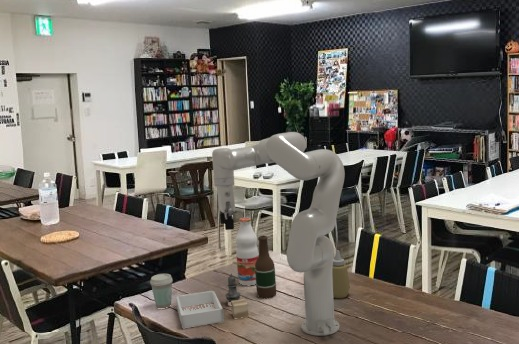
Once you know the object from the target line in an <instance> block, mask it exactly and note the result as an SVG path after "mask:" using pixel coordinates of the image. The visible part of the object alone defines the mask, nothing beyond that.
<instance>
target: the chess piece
mask: <svg viewBox="0 0 519 344" xmlns="http://www.w3.org/2000/svg"><path fill="white" fill-rule="evenodd" d="M227 283H228V284H227V287H228V292H227V293H225V296H224V297H226V301H228V302H231V301H235V300H240V298H241V295H242V294H241V292H239V291H238V290H237V289H238V288H237V286H238V284H237V281H236V276H234V275H233V274H232V273H231V274H230V275H229V276H228V277H227Z"/></svg>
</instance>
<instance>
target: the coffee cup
mask: <svg viewBox="0 0 519 344" xmlns="http://www.w3.org/2000/svg"><path fill="white" fill-rule="evenodd" d="M173 281H174V280H173V277H172V275H171V274H169V273H158V274H156V275H153V276H151V278H150V282H149V284H150V286H151V289H152V294H153V295H152V296H153V300H154V303H155V308H156V307H157V308H166V307H169V306H170V305H171V306H172V296H173V295H172V293H173V289H172V287H173ZM157 308H156V309H157Z"/></svg>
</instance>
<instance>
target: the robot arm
mask: <svg viewBox="0 0 519 344" xmlns="http://www.w3.org/2000/svg"><path fill="white" fill-rule="evenodd" d="M306 147H307V141H306V138H305V137H304V136H303V135H302V133H299V132H297V131H288V132H282V133H277V134H273V135H271V136H270V137H267V138H264V139H261V140H260V141H259V142H258V143H257V144H253V145H249V146H244V147H238V148H226V147H225V148H224V147H223V148H215V149H213V151H212V153H211V157H212V158H211V159H212V170H213V171H212V172H213V184H214V185H213V186H214V188H217V189H216V191H217V204H218V209H219V220H220V221H219V222H220V225H224V228H225V230H226V231H229V230H234V229H235V225H234V224H235V223H234V221H235V219H234V215H233V213H235V212H236V202H235V193H234V187H233V186H235V174H234V171H237V170H242V169H246V168H252V167H256V166H259V165H264V164H267V165H269V164H274V163H275V164H276V165H278V166H279V167H280V168H281V169H282V170H284V171H286V172H287V173H288V174H289V175H290V176H292V177H294V178H295V179H296V180H300V181H309V180H314V179H316V178H319V180H318V182H317V183H316V186H315V188H314V191H313V194H312V200H311V204H310V207H309V208H308V209H305V210H303V211H300V212H298V213H297V214H296V215H295V216H294V217H293V220H292V221H291V225H290V229H289V230H290V231H289V236H288V242H287V248H286V249H287V250H286V261H287V263H288V266H289V267H290V269H291V270H293V271H294V272H295V273H299V274H300V273H303V291H304V292H303V293H304V294H303V295H304V311H305V320H304V321H303V322H302V323H301V330H302V331H303V332H304V333H305V334H308V335H311V336H317V337H318V336H320V337H323V336H324V337H325V336H329V335H332V334H335V333H337V332H338V331H339V329H340V323H339V321H337V320H336V319H335V306H334V305H335V304H334V297H333V278H332V267H333V259H335V248H334V243H333V242H332V241H331V239H330V238H329V237H327V236H326V235H328V234H330V233H331V232H332V231H333V230H334V229H335V226H336V222H337V217H338V212H339V211H338V210H339V205H340V199H341V195H342V192H343V191H342V190H343V187H344V184H345V183H344V182H345V177H346V176H345V175H346V173H345V167H344V163H343V161H342V159H341V158H340V156H339V155H338V154H337V153H336V152H334V151H332V150H330V149H326V148H325V149H323V148H322V149H316V150H311V151H306V152H305V150H306Z"/></svg>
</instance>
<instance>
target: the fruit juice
mask: <svg viewBox="0 0 519 344" xmlns="http://www.w3.org/2000/svg"><path fill="white" fill-rule="evenodd" d="M238 220H239V224H240V225H239V228H238V231H237V234H236V236H235V244H236V246H237V247H236V251H235V252H236V253H235V255H236V266H237V281H238V284H239V283H240V284H242V285H254V286H256V285H255V284H256V274H255V263H256V260H257V259H258V257H259V246H257V244H258V236H257V233H255V230H254V229H253V226H252V219H251V217H247V216H245V217H240V218H239V219H238ZM240 284H239V285H240ZM242 285H241V286H242Z"/></svg>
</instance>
